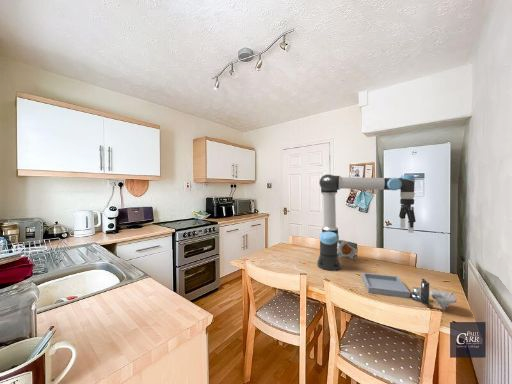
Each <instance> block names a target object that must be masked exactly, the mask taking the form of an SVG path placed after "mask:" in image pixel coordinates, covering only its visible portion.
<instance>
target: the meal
mask: <svg viewBox="0 0 512 384" xmlns="http://www.w3.org/2000/svg"><path fill="white" fill-rule="evenodd" d="M358 252H359V251H358V243H356V242H352V241H348V240H344V239H341V240H340V239H339V240H338V245H337V257H338V258H340V257H341V258H349V259H351V260H353V259H354V260H356V261H357V260H358Z"/></svg>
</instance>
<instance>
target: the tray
mask: <svg viewBox="0 0 512 384" xmlns="http://www.w3.org/2000/svg"><path fill="white" fill-rule="evenodd" d="M361 275H362V277H361V279H362V280H363V283H364V285H365V288H366V290H367V292H368V294H373V295H374V294H376V295H382V296H391V297H399V298H407V299H411V298H410V293H411V291H409V289H408V287H406V285H405V284H404V283H403V281H402V280H401V279H400V277H398V275H397V276H396V275H395V276H394V275H389V274H388V275H386V274H379V273H378V274H377V273H368V272H367V273H366V272H362V273H361Z"/></svg>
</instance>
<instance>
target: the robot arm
mask: <svg viewBox="0 0 512 384" xmlns="http://www.w3.org/2000/svg"><path fill="white" fill-rule="evenodd" d="M318 183H319V186H320V192H321V193H320V194H321V195H322V196H323V198H322V201H323V226H322V228H321V233H320V235H319V257H318V259H317V261H316V262H317V264H316V265H317V267H318V268H319V269H322V270H325V271H329V272H330V271H333V272H335V271H338V270H340V269H341V264H340V260H339V256H338V257H337V255H338V250H337V249H338V245H339V243H338V240H340V237H339V228H338V227H337V221H336V220H337V218H336V217H337V214H336V194H338V191H339V190H341V189H347V190H352V189H353V190H378V191H379V190H380V191H398V190H399V192H400V194H399V195H400V196H399V197H400V201H399V204H400V210H399V215H398V217H399V224H400V225H399V226H400V227H399V228H400V229H406V216H407V219H408V221H407V223H408V224H407V228H408V229H407V233H410V234H412V233H415V232H414V228H415V227H414V226H415V225H414V224H415V223H416V216H415V207H414V206H412V205H414V204H415V195H416V193H415V183H416V182H415V175H413V174H402V175H400V177H349V176H346V177H344V176H341V175H334V174H330V173H329V174H328V173H327V174H324V175H322V176H321V177H320V178H319V182H318Z"/></svg>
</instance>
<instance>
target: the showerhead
mask: <svg viewBox="0 0 512 384" xmlns="http://www.w3.org/2000/svg"><path fill="white" fill-rule="evenodd" d="M429 297H431V298H432V299H433V300H435V303H436V304H437V305H438V307H439V308H440V309H441V310H446V308H449V307H450V304H456V303H457V301H458V299H457V297H456V296H455V295H454V292H453V291H452V292H447V291H445V290H440V289H432V290H429Z"/></svg>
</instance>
